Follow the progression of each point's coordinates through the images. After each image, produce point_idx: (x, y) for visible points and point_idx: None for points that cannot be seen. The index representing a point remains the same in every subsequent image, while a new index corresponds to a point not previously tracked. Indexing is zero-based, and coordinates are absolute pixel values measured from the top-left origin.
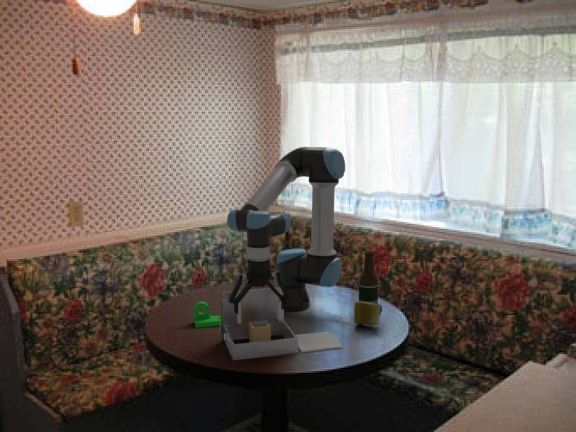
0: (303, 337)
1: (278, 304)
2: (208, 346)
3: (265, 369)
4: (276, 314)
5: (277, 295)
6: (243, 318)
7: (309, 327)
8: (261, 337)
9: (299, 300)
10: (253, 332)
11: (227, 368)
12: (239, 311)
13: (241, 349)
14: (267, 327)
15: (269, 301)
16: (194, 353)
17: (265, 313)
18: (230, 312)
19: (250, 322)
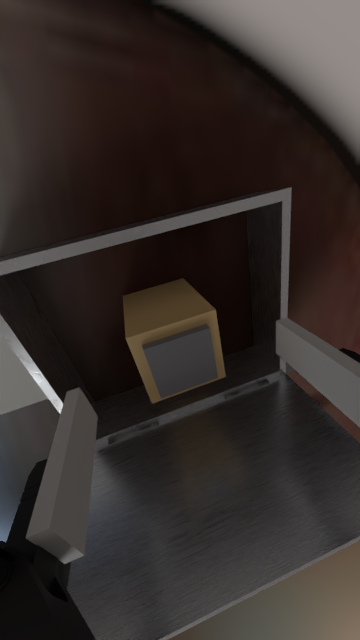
0: (6, 385)
1: (66, 494)
2: (301, 306)
3: (125, 60)
4: (113, 463)
5: (49, 628)
6: (236, 412)
7: (12, 459)
8: (162, 302)
9: (66, 566)
10: (203, 301)
11: (278, 109)
12: (339, 356)
13: (242, 198)
14: (141, 329)
15: (148, 523)
16: (342, 258)
17: (158, 454)
18: (297, 417)
19: (220, 369)
